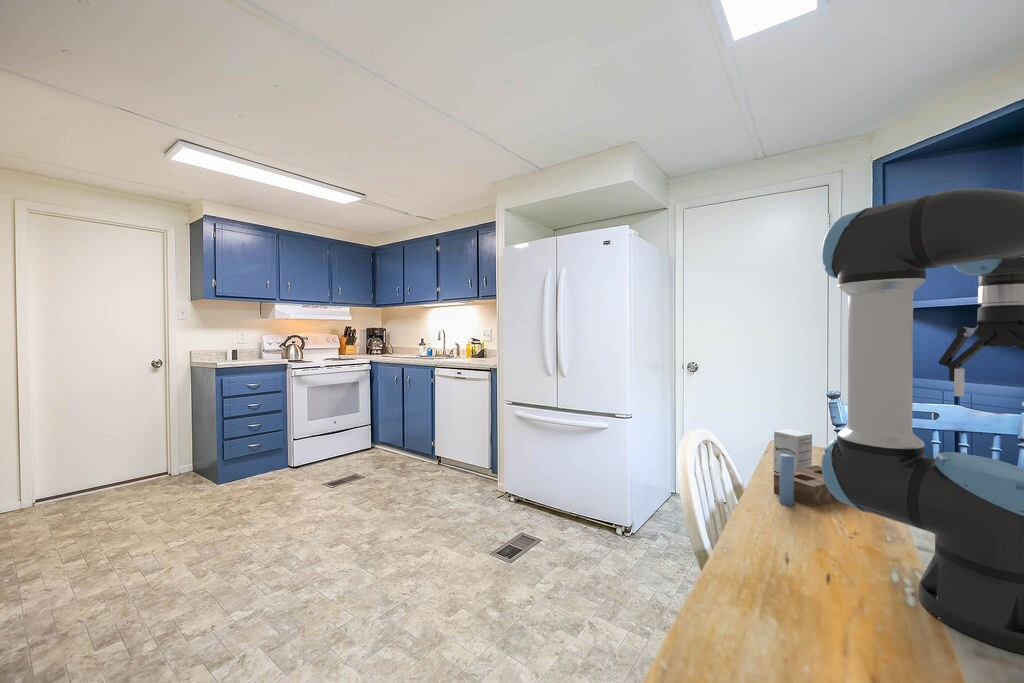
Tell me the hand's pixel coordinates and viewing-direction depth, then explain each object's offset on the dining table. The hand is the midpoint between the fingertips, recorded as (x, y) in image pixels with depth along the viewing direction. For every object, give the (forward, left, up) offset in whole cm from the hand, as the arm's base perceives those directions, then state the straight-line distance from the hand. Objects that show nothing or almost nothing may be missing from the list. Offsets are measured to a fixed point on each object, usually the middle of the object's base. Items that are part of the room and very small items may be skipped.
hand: (1000, 400), depth 93 cm
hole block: (-20, +27, -28) cm, 43 cm away
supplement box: (-9, +40, -28) cm, 50 cm away
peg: (-33, +26, -28) cm, 50 cm away
